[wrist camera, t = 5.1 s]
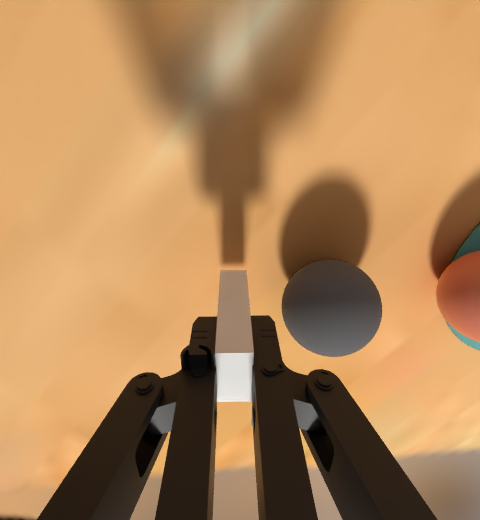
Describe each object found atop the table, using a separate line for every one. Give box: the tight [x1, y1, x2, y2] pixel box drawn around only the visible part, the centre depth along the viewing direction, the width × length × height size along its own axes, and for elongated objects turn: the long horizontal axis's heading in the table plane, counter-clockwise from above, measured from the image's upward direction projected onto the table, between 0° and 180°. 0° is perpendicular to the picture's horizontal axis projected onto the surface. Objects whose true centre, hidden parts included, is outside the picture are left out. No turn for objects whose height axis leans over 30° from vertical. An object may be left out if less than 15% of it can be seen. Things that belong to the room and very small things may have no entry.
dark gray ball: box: [282, 259, 382, 357], centre depth 18 cm, size 6×6×6 cm
